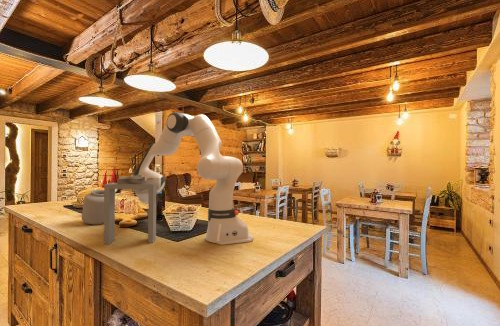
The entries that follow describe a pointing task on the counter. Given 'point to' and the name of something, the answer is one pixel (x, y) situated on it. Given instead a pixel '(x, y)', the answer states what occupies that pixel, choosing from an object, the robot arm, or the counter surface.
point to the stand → (110, 209)
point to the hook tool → (131, 180)
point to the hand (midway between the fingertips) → (136, 176)
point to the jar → (94, 207)
